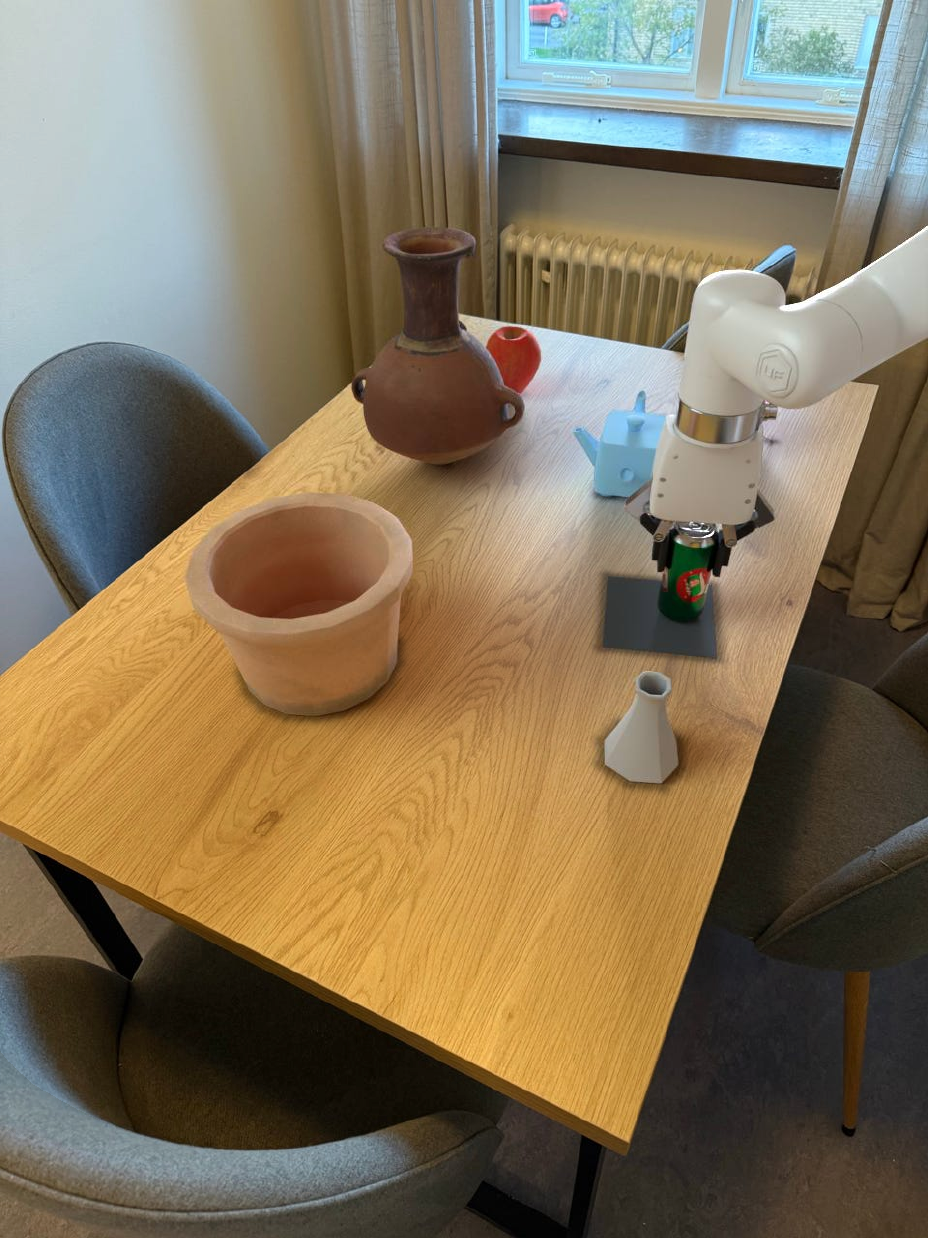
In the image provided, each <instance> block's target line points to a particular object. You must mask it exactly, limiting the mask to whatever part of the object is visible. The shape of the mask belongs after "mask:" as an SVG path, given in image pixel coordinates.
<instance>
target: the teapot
mask: <svg viewBox="0 0 928 1238" xmlns="http://www.w3.org/2000/svg"><path fill="white" fill-rule="evenodd" d="M646 399H647V393H646V392H645V391H644V390H641V391H639V392H638V393H637V395H636V400H635V403H634V407H633V410H620V409H611V410H610V411H609V412H608V414H607V416H606V419H605V421H604V424H603V428H602V432H601V434H600V438H599V440H597V439H596V438H595V437H594V436H593V435H592V434H591V433H590V432H589V431H587V429H585V427H584V426H581V427H574V428H573V430H572V433H573V435H574V437H575V439H576V440H577V442H578V443H579V445H580V446H581V448H582V450H583V451H584V453H585V455H586V457H587V458H588V460H589V461H590V463H591V465H592V466H593V467H594V470H593V471H594V472H593V486H594V491H595V492H596V493H597V494H600V495H601V496H603V497H612V496H615V497H623V498H628V497H630V496H631V495H632V494H633V493H634V492H636V491H637V490H638V489H639V488H640V487H642V486H643V485H644V484H645V483H647V482H648V481H649V480H650V479H651V473H652V468H653V463H654V458H655V454H656V449H657V445H658V441H659V438H660V435H661V432H662V429H663V426H664V424H665V421H666V419H667V417H666V416H665V415H664V414H659V413H650V412H646Z"/></svg>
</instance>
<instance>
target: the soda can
mask: <svg viewBox="0 0 928 1238" xmlns="http://www.w3.org/2000/svg"><path fill="white" fill-rule="evenodd" d="M718 532H719V530H718V526H717V524H711V523H696V522H683V521H674V523H673V525H672V527H671V528H670V530H669V535H668V536H669V546H668V552H667V558H666V564H665V570H664V571H662V573H661V578H660V581H661V584H660V590H659V596H658V603H657V605H658V609H659V611H660V612H661V613H662V614H663V615H664V616H665V617H666V618H668V619H670V620H672V621H675V622H689V621H692V620H694V619H696V618H698V617H699V616H700V615H701V614H702V612H703V609H704V604H705V599H706V595H707V590H708V585H710V580H711V575H712V567H713V562H714V558H715V553H716V548H717V544H718V539H719V534H718Z"/></svg>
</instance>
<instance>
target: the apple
mask: <svg viewBox="0 0 928 1238" xmlns="http://www.w3.org/2000/svg"><path fill="white" fill-rule="evenodd" d="M485 348H486V349H487V350H488V351H489V353H490V354H491V355H492V357H493V359H494V360H495V363H496V365H497V367H498V369H499V372H500V374H501V377H502V379H503V383H504V386H506V387H508V388H511V389H513V390H514V391H516V392H517V393H519V395H521V394H522V393H523V392H524V391H525V390H526V388H527V387H528V386H529V384H530V383H531V382H532V381H533V379H534V377H535V376H536V374H537V372H538V370H539V369H540V366H541V362H542V349H541V347H540V344H539V341H538V339H537V338H536V336H535V335H534V334H533V333H532V332H531V331H529V330H528V329H526V328H523V327H521V326H512V325H507V326H501V327H499V328H498V329H496V330H495V331H494V332H492V333H491V335H490V337H489V338H488V340H487V343H486V347H485Z"/></svg>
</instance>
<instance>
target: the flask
mask: <svg viewBox="0 0 928 1238" xmlns="http://www.w3.org/2000/svg"><path fill="white" fill-rule="evenodd" d="M672 687H673V686H672V678H670V677H668V676H667V675H666V674H663V673H661V672H660V671H649V670H643V672H641V673H640V674H639V675H638V676H637V677H636V678H635V693H636V695H635V698H634V699H633V702H632V703H631V706H630V708H629V709H628V710H627V712H626V713H625V714H624V716H623V717H622V718H621V720H620V721H619V722H618V724H617V725H616V726H615V727H614V728H613V730H611V732H610V733H609V734H608V735H607V737H606V738H605V739H604V766H607V767H608V768H609V769H611V770H612V771H614V772H616V773H617V774H619V775H620V776H622V777H623V778H624V779H625V780H627V781H629V782H635V783H648V784H649V783H650V784H662V783H664V781H665V780H666V779H668V777H669V776H670V775H671V774H672V773H673V772H674V771H675V769H676V768H677V767H678V766H679V755H678V744H677V743H678V742H677V739H676V736H675V732H674V730H673V727H672V725H671V722H670V718H669V715H668V711H667V708H666V707H667V705H666V704H667V698H668V696H670V694H671V693H672V691H673V689H672Z"/></svg>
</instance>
